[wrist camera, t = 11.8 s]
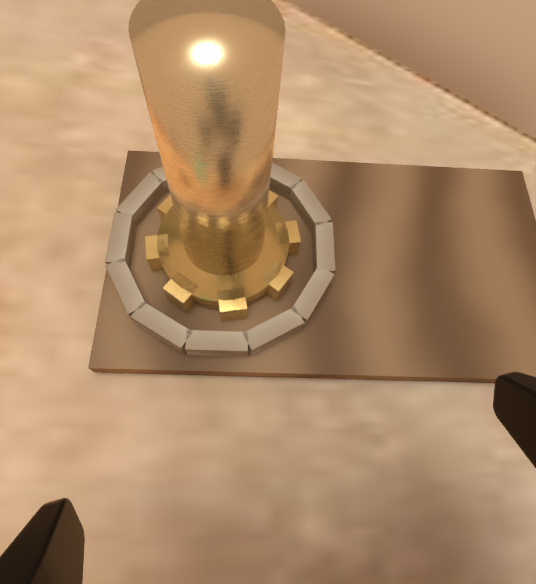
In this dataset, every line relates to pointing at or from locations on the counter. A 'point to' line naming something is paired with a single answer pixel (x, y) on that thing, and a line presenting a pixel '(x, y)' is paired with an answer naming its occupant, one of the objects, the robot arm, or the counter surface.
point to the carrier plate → (343, 280)
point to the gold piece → (215, 149)
